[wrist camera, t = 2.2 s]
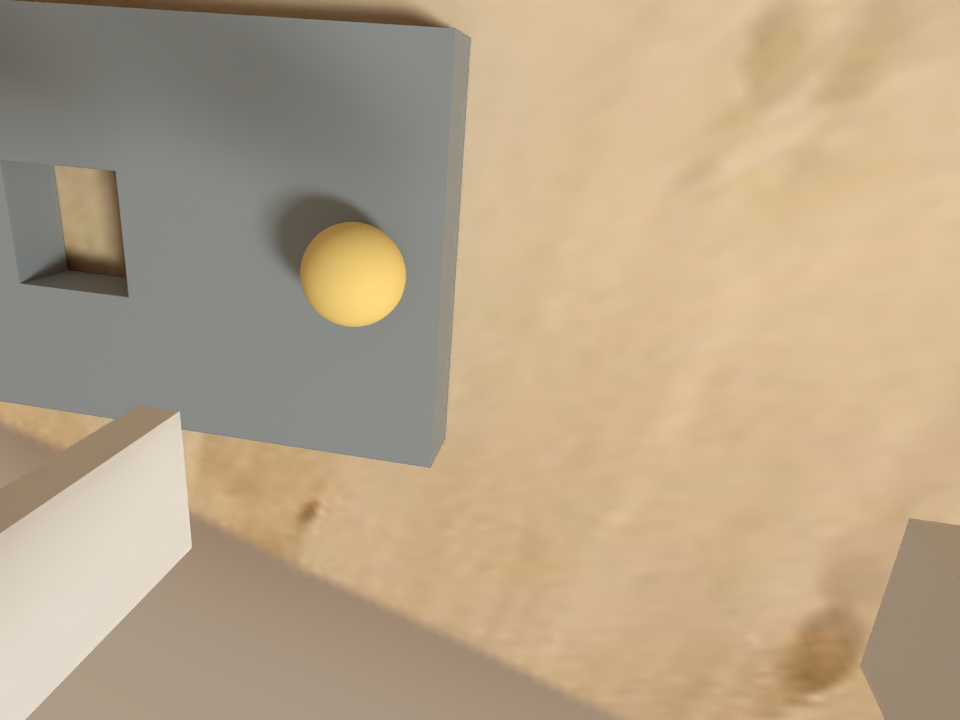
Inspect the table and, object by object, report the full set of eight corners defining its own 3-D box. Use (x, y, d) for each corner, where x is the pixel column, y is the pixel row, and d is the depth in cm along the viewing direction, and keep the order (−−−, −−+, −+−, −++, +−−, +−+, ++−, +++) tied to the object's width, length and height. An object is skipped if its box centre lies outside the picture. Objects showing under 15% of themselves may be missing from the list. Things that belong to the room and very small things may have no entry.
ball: (324, 210, 28) (280, 224, 24) (420, 220, 27) (390, 236, 23) (324, 305, 29) (283, 332, 25) (415, 316, 28) (386, 346, 25)
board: (-13, 6, 30) (-76, -6, 28) (470, 37, 27) (455, 28, 25) (45, 379, 37) (-1, 401, 34) (445, 439, 34) (430, 467, 31)
